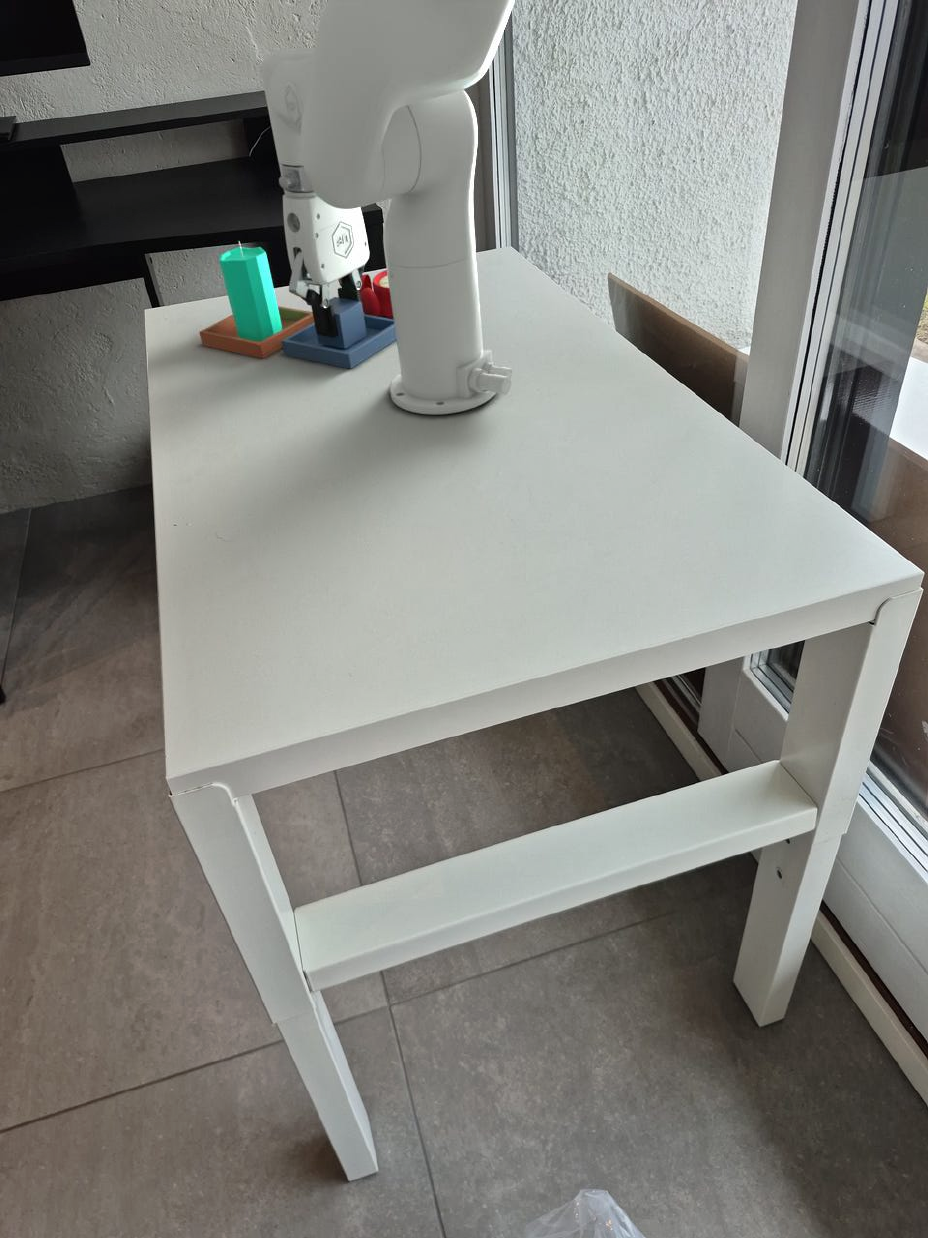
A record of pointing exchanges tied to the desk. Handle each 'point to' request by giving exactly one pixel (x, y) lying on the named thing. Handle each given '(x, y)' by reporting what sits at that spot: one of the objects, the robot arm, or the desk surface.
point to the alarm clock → (376, 295)
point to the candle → (251, 293)
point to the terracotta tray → (227, 339)
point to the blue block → (346, 323)
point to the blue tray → (309, 348)
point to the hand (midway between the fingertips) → (340, 326)
